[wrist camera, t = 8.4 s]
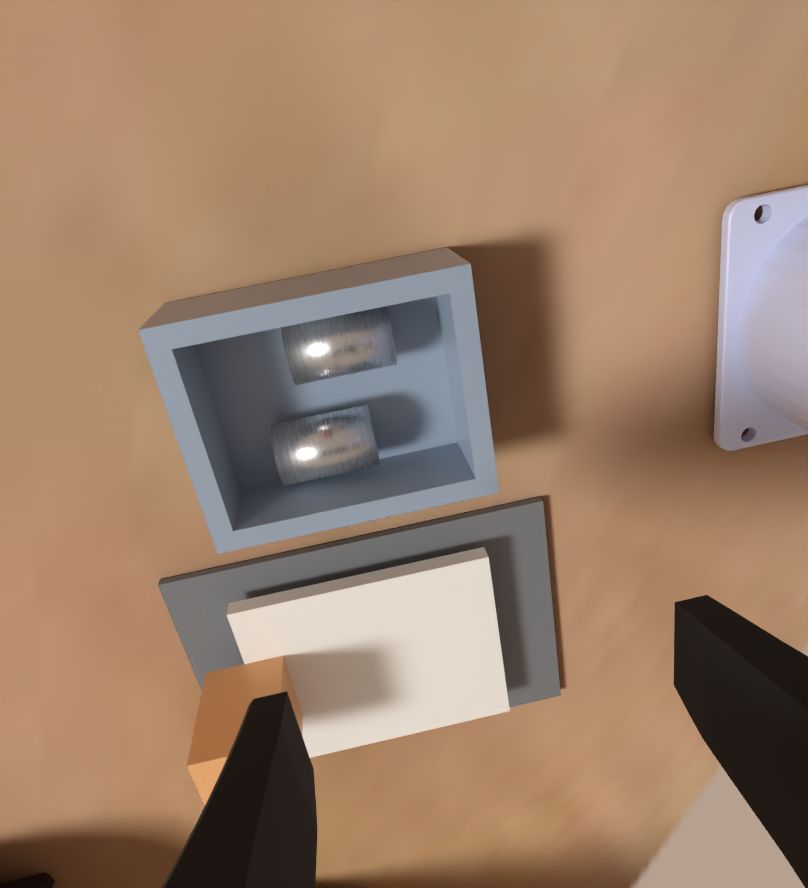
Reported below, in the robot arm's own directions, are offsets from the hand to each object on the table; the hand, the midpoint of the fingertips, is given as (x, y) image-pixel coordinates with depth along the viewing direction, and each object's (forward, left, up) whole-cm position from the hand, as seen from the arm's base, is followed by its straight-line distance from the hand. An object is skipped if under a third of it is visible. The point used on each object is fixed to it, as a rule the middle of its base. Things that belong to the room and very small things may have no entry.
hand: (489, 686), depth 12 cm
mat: (+2, +7, -10) cm, 12 cm away
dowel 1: (+1, -4, -9) cm, 10 cm away
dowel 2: (+2, -2, -9) cm, 10 cm away
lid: (+3, +7, -9) cm, 12 cm away
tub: (+2, -3, -10) cm, 11 cm away
